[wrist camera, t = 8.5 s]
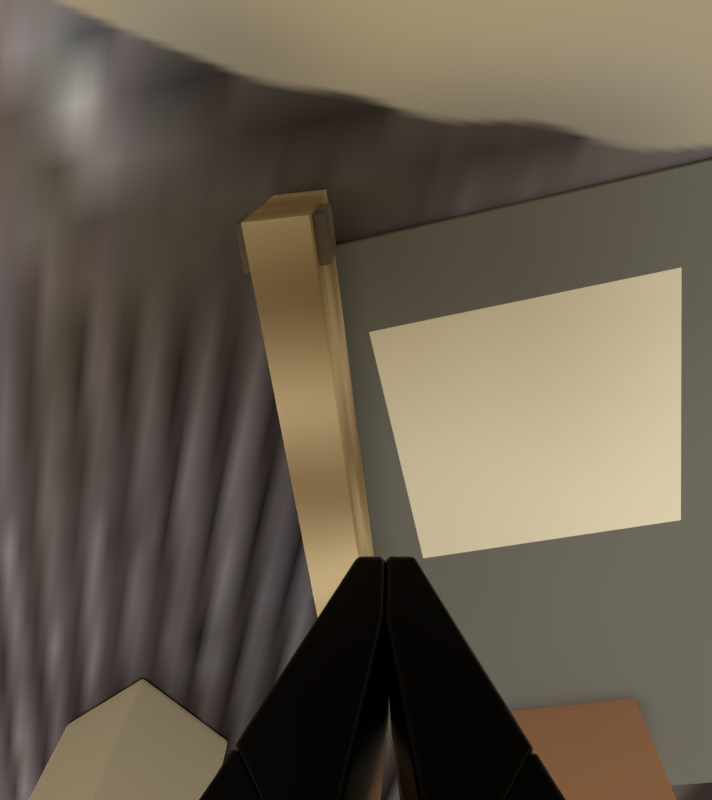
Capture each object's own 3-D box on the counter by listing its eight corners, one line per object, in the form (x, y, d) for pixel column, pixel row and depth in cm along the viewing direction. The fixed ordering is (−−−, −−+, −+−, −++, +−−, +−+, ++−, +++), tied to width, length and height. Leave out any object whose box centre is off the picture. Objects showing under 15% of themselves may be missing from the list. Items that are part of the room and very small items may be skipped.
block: (517, 787, 31) (537, 890, 27) (503, 712, 28) (522, 813, 24) (638, 776, 30) (676, 881, 26) (634, 697, 27) (676, 800, 23)
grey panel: (425, 801, 32) (425, 807, 32) (259, 262, 20) (257, 264, 19) (740, 773, 30) (743, 780, 30) (786, 141, 17) (793, 141, 17)
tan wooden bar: (384, 580, 24) (383, 675, 20) (331, 583, 25) (320, 677, 21) (336, 187, 18) (321, 213, 14) (264, 196, 18) (228, 224, 14)
